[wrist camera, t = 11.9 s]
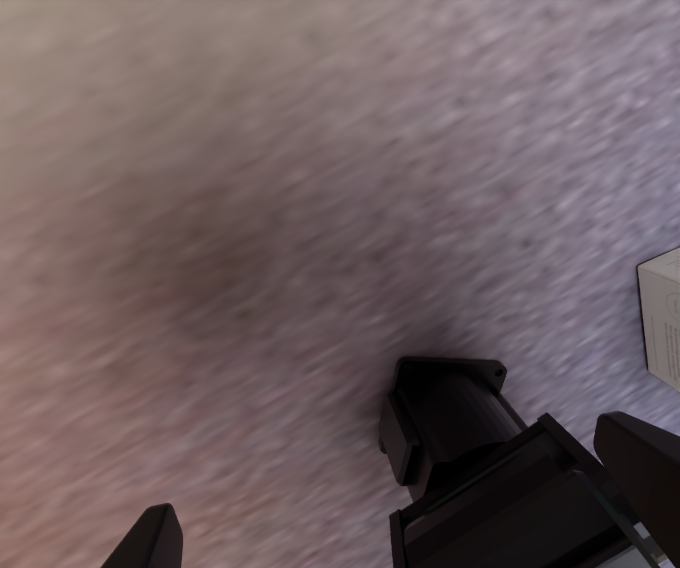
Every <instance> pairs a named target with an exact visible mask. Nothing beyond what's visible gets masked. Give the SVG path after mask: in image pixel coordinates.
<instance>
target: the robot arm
mask: <svg viewBox="0 0 680 568" xmlns="http://www.w3.org/2000/svg"><path fill="white" fill-rule="evenodd" d="M408 364H409V365H410V366H409V367H408V368H404V366H406V365H408ZM498 369H499V371H498V372H496V373H495V371H496V370H498ZM506 374H507V369H506V367H505V366H504V365H503V364H502V363H501V362H496V361H478V360H460V359H441V358H423V357H403V358H401V359H400V360H399V361H398V363H397V367H396V371H395V376H394V380H393V384H392V389H391V391H389V392H388V393H387V394H386V398H385V402H384V407H383V411H382V415H381V420H380V424H379V432H380V435H381V436H380V440H379V447H380V450H381V452H382V453H384V454H387V455H388V458H389V461H390V464H391V467H392V470H393V473H394V476H395V479H396V481H397V483H398V484H399V485H400V486H407V487H408V490H409V493H410V496H411V498H412V501H413V503H412V504H410V505H409V506H407V507H405V508H404V509H402V510H400V509H398V510H397V511H395V512H394V513H392V514H391V515H389V519H390V531H391V534H390V535H391V546H392V557H393V568H660V567H659V565H658V564H660V563H661V562H663V561H665V560H666V559H669V560H670V561H671V562H672V564H673V565H674V566H675V568H680V436H677V435H675V434H673V433H670V432H668V431H666V430H663V429H661V428H659V427H656V426H654V425H652V424H649V423H647V422H645V421H642V420H640V419H638V418H635V417H633V416H630V415H628V414H626V413H623V412H620V411H613V412H609V413H604V414H601V415H600V416H599V417H598V419H597V424H596V430H595V435H594V441H593V445H594V449H595V452H596V454H597V456H598V457H599V459H600V461H601V462H602V464H603V465H604V466H603V465H602V464H601V463H600V462H599V461H598V460H597V459H596V458H595V457H594V456H593V455H592V454H591V453H590V452H588V451H587V450H586V449H585V448H584V447H583V446H582V445H581V444H580V443H579V442H578V441H577V440H576V439H575V438H574V437H573V436H572V435H571V434H570V433H568V432H567V431H566V430H565V429H564V428H563V427H562V426H561V425H560V424H559V423H558V422H557V421H556V420H555V419H554V418H553V417H552V416H551V415H550V414H548V413H545V414H544V415H542V416H540V417H539V418H537V420H538V421H537V422H536V423H534V424H533V425H531V426H530V427H528V426H527V425H526V424H525V423H524V421H523V420H522V419H521V418H520V417H519V415H518V414H517V413H516V412H515V410H514V409H513V408H512V407H511V406H510V404H509V403H508V402H507V401H506V399H505V398H504V397H503V396H502V395H501V393H500V391H501V388H502V386H503V383H504V380H505V377H506ZM182 550H183V534H182V529H181V527H180V524H179V521H178V519H177V516H176V514H175V511H174V508H173V506H172V505H171V504H170V503H164V504H159V505H155V506H151V507H149V508H147V509H146V510H145V511H144V513H143V514H142V515H141V516H140V518H139V519H138V520H137V522H136V523H135V524H134V525H133V527H132V528H131V529H130V531H129V532H128V533H127V534H126V536H125V537H124V538H123V539H122V541H121V542H120V543H119V545H118V546H117V547H116V548H115V550H114V551H113V552H112V554H111V555H110V556H109V557H108V559H107V560H106V561H105V563H104V564H103V565H102V566H101V568H181V562H182Z"/></svg>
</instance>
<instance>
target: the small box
mask: <svg viewBox="0 0 680 568" xmlns="http://www.w3.org/2000/svg"><path fill="white" fill-rule="evenodd" d="M638 275H639V283H640V293H641V303H642V313H643V323H644V331H645V340H646V350H647V359H648V370H649V372H650V373H651V374H653V375H654V376H656V377H658V378H659V379H661V380H662V381H664V382H665V383H667V384H668V385H670V386H671V387H673V388H674V389H675V390H677V391H678V392H680V247H679V248H677V249H674V250H672V251H670V252H668V253H665V254H663V255H661V256H658V257H656V258H654V259H652V260H650V261H647V262H645V263H643V264H641V265H639V266H638Z"/></svg>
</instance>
